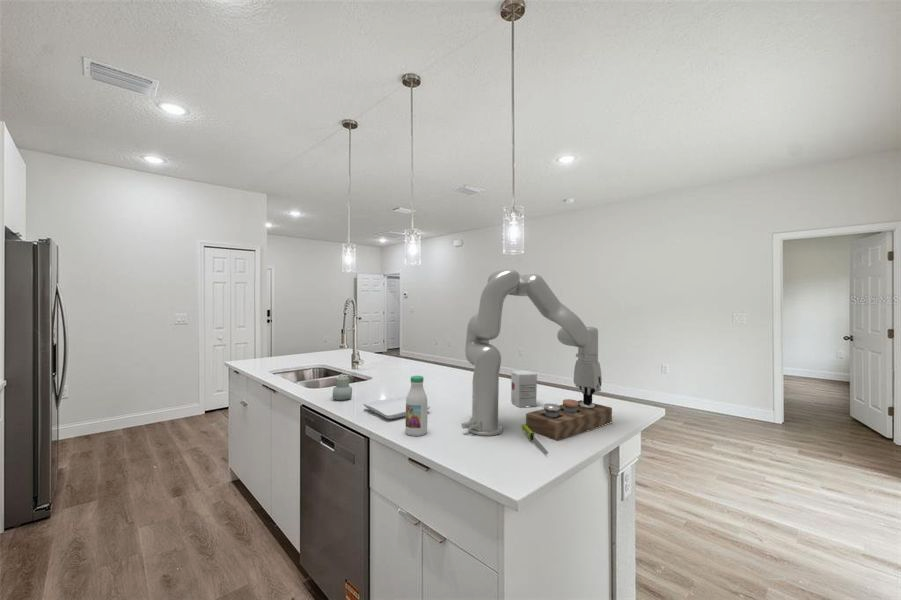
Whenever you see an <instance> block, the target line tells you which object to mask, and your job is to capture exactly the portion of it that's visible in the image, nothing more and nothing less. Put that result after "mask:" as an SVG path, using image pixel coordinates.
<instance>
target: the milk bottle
mask: <svg viewBox="0 0 901 600" xmlns="http://www.w3.org/2000/svg"><path fill="white" fill-rule="evenodd" d="M424 379H425V377H424V376H422V375H412V376H411V377H410V384H411V385H410V387H409V391H408V393H407V396H406V397H407V399H406V416H405V434H407V435H408V436H413V437H417V436H418V437H419V436H420V437H421V436H424V435H426V434H427V432H428V410H427V405H428V396H427V394H426V391H425V388H424Z"/></svg>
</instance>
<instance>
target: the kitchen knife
mask: <svg viewBox="0 0 901 600" xmlns="http://www.w3.org/2000/svg"><path fill="white" fill-rule="evenodd" d="M521 430H522V431H524V433H525V434H526V435H528V441H529V442H532V444H534V446H536V448H538V449H539V450H540V451H541V452H542V453H543V454H544V455H548V454H549V451H548V450H547V448H546V447H544V445H543V444H542V443H541V442H540V441H539V440H538V439H537V437H536V436H535V433H534V432H532V431H531V430H530V429H529V428H528V426H527V425H526V423H524V424H522V425H521Z"/></svg>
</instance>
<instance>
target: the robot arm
mask: <svg viewBox="0 0 901 600" xmlns="http://www.w3.org/2000/svg"><path fill="white" fill-rule="evenodd" d="M508 296H517V297H528V299H530V301H531V303H532V304H533V305H534V306H535V308H536V309H537V311H538V312H539V313H540V314H541V315H542V317H544V318H546V320H549V321H551V322H553V323H555V324H556V325H558V326H559V327H561V328H560V329H559V330H558V331H557V335H556V336H557V340H558V342H559V343H561V344H562V345H564V346H565V345H566V346H570V347H574V348H577V353H575V357H576V358H577V360H576V361H575V364H574V370H573V384H574V386H575V387H576V388H578V389H579V390H580V391H581V393H582V395H583V399H582V401H584V404H586V405H589V404H592V403H593V395H594V393H596V392H598V393H599V392H600V391H602V388H601V387H602V381H603V380H602V369H601V363H600V362H599V330H598V328H597V327H594V326H586V325H585V323H584V322H583V320H581V318H580V317H579V316H578V315H577V314H576V313H574V312H573V311H571V310H570V308H568V307H567V306H566V305H564V304H563V303H562V302H561V301H560V299H559V298H558V297H557V296H556V294H555V293H554V292H553V290H552V289H551V288H550V286H549V285H548V283H547V282H546V281H545V279H544V278H543V277H542V276H541V275H539V274H535V273H533V274H524V275H521V274H520V273H519V272H518V271H517V270H515V269H510V268H509V269H501V270H497V271H494V272H492V273H491V274H490V275H489V276H488V278H487V283H486V285H485V286H484V288H483V290H482V292H481V295H480V299H479V306H478V313H476V314H474V315H472V316H471V318H470V319H469V321H468V324H467V328H466V337H465V349H464V351H465V357H466V358H465V359H466V360H467V362H468V363H469V364H471V365H472V366H474V369H473V375H472V397H471V398H472V402H471V403H472V405H471V406H472V407H471V408H472V409H471V413H472V415H471V416H472V417H470V418H469V421H468V422H463V423H461V428H462V429H463V430H464V429H467V431H468V432H469V433H471V434H474V435H476V436H477V435H478V436H484V437H486V436H487V437H488V436H498V435H499V434H501V433H502V432H503V427H502V425H501V424H499V391H500V390H499V388H500V387H499V386H500V385H499V384H500V383H499V381H500V370H501V365H502V355H501V353H500V352H501V351H500V350H499V349H498V348H497V347H496V346H495V345H493V344H491V343H490V341H492V340H495V339H496V338H498V337H499V335H500V332H501V330H502V329H501V327H502V316H503V315H502V314H503V306H504V302H505V299H506V298H507V297H508Z"/></svg>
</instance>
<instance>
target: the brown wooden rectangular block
mask: <svg viewBox="0 0 901 600" xmlns="http://www.w3.org/2000/svg"><path fill="white" fill-rule="evenodd" d="M577 401H578V407H577V413H574V414H571V413H568V412H564V405H563V404H558V405H559V406H560V411H559V418H555V419H552V418H549V417H545V410H544V408H542V409H538V410H534V411H530V412H525V424H526V425H527V426H528V428H529V429H530V430H531V431H532V432H533V433H534V434H537V435H540V436H543V437H545V438H548V439H551V440H553V441H558V442H559V441H561V440H564V439H568V438H571V437H573V435H574V436H576V434H577V435H579V434H578V433H580V434H582V432H583V433H585V431H586V432H588V431H587V430H589V431H592V430H594V428H595V429H597V428H596V427H598V428H600V427H599V426H601V427H603V426H602V425H604V426H606V425H605V424H607V423H610V422H612V423H613V421H612V420H613V407H611V406H606V405H602V404H598V403H593V402H592V403H593V404H595V408H592V409H587V408H583V407H580V403H581V402H584V401H583V399H580V400H577ZM610 424H611V423H610ZM607 425H608V424H607ZM591 429H592V430H591Z"/></svg>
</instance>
